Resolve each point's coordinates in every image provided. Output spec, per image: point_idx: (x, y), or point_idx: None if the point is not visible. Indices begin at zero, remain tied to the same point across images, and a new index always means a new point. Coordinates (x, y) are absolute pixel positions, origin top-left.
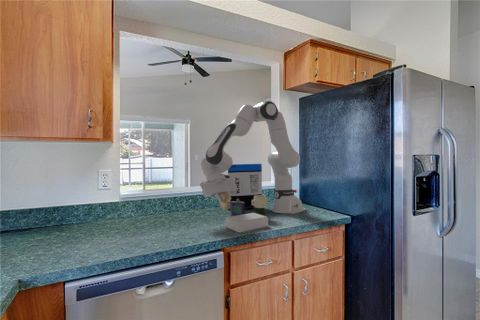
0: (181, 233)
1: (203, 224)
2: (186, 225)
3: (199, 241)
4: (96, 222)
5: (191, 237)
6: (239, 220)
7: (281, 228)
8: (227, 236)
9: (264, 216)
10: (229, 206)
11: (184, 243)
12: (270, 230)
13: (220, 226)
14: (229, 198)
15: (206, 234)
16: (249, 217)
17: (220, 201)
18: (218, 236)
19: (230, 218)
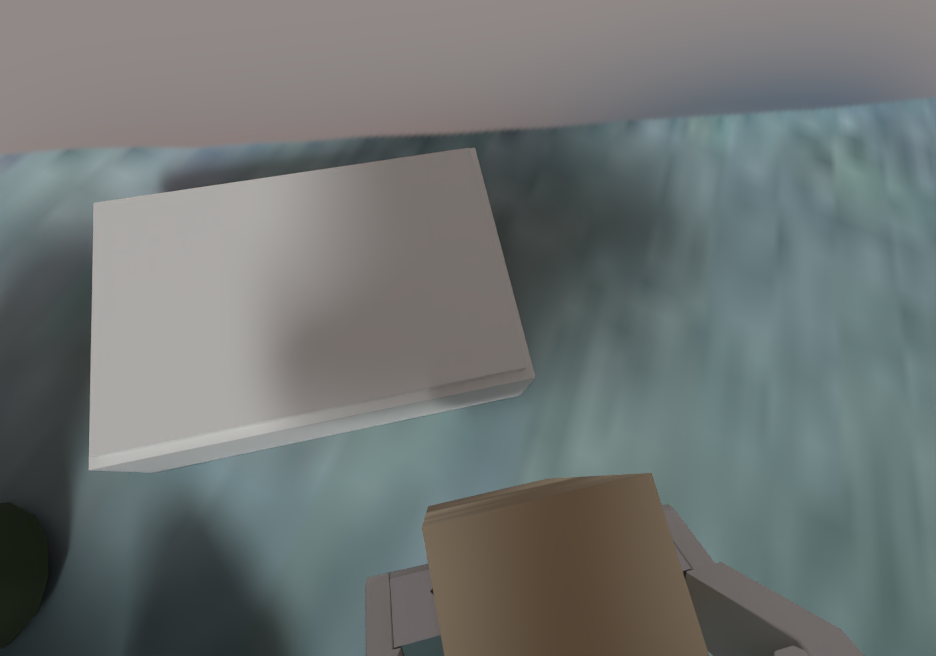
0: (927, 366)
1: None
2: (909, 639)
3: (785, 141)
4: None
5: (840, 237)
6: (447, 185)
7: (94, 155)
8: (582, 155)
9: (112, 219)
10: (441, 504)
11: (880, 145)
12: (213, 147)
13: (562, 436)
14: (438, 513)
15: (725, 258)
16: (290, 247)
17: None
18: (644, 180)
19: (504, 295)
